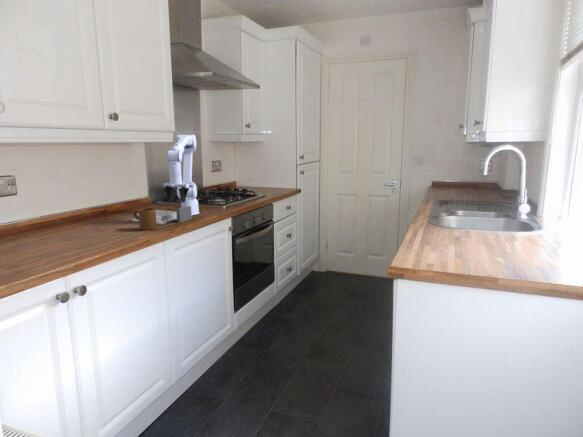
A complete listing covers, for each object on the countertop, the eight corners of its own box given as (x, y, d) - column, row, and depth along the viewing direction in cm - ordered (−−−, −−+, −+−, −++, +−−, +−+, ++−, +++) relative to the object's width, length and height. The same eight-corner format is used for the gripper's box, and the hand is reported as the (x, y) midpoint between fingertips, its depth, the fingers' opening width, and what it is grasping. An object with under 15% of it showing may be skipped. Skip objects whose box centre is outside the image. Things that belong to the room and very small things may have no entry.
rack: (154, 215, 227) (153, 209, 226) (183, 218, 218) (182, 211, 218) (131, 221, 213) (131, 214, 212) (161, 224, 204) (161, 217, 204)
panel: (188, 219, 216) (187, 206, 214) (191, 219, 215) (190, 206, 214) (177, 222, 208) (176, 208, 206) (180, 222, 207) (179, 209, 206)
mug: (129, 229, 193) (127, 209, 191) (141, 226, 200) (139, 207, 198) (148, 231, 188) (147, 211, 186) (160, 228, 195) (158, 208, 193)
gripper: (158, 175, 205) (160, 201, 208) (181, 175, 199) (183, 203, 201) (168, 173, 211) (170, 199, 214) (191, 174, 205) (192, 201, 208)
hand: (177, 201), depth 208 cm, fingers open, 7 cm apart
